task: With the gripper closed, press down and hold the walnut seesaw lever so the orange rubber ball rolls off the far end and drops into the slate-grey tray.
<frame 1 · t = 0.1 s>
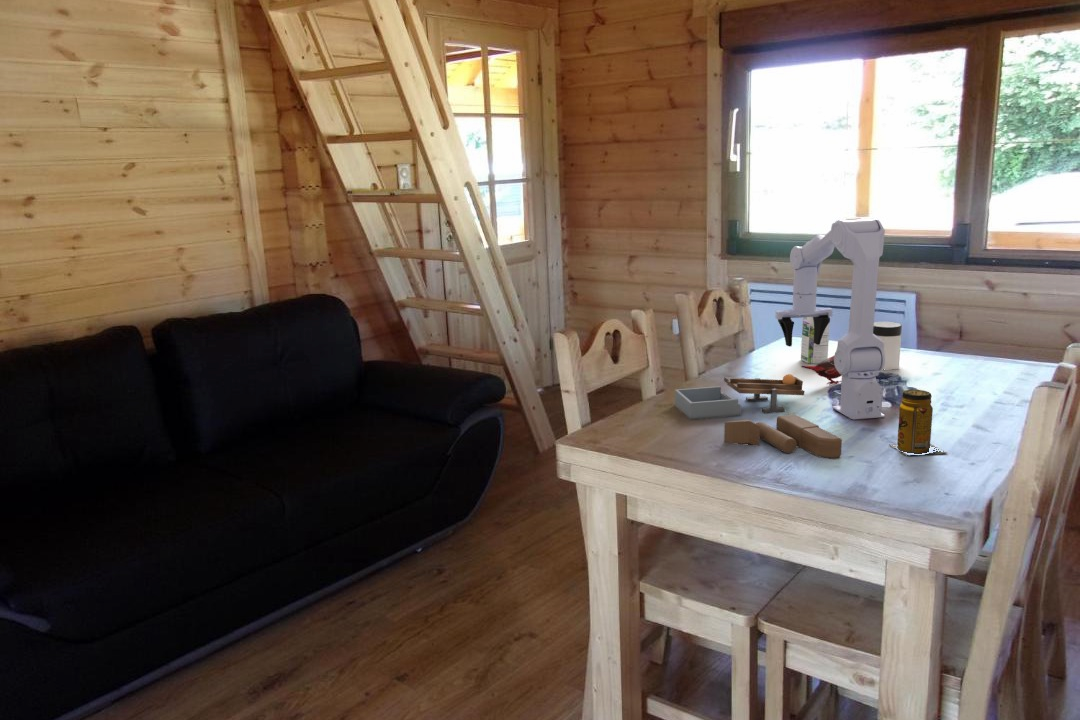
hand: (802, 344, 218), 10 cm above the table, tool pointing down, fingers open, 7 cm apart
lever stand: (764, 405, 200), on the table
lever: (762, 381, 201), point 5 cm above the table, hinge at -6.0°, touching ball
tray: (706, 410, 199), on the table
condiment: (917, 450, 168), on the table
ball: (788, 380, 200), point 6 cm above the table, tilted 19°, touching lever
jar: (883, 367, 233), on the table
syrup box: (814, 362, 241), on the table
red pointed-tail figurine: (827, 385, 216), on the table
wooden block set: (780, 451, 171), on the table
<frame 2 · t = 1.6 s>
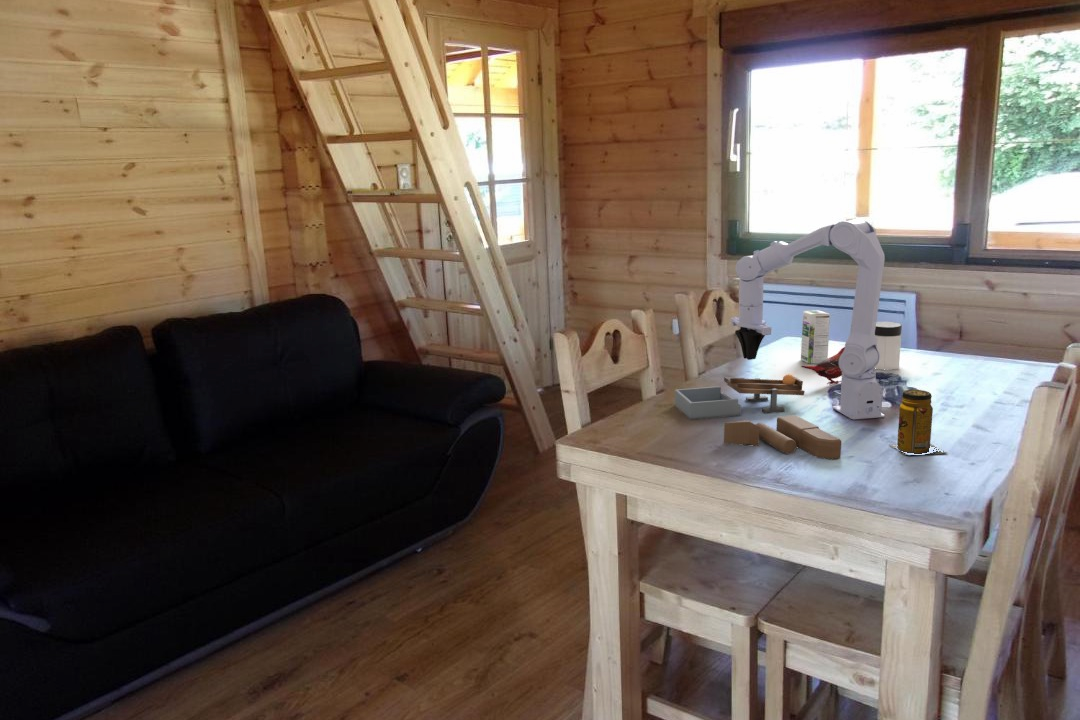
hand: (749, 358, 208), 9 cm above the table, tool pointing down, fingers closed
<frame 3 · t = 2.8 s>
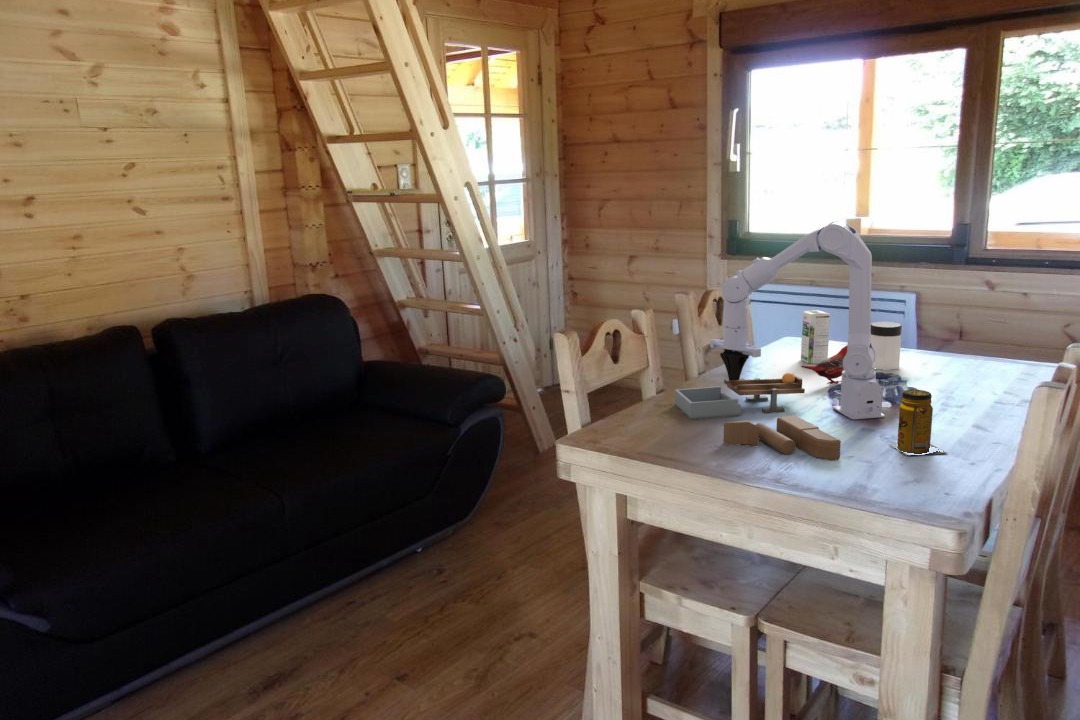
hand: (733, 380, 204), 5 cm above the table, tool pointing down, fingers closed, pressing on lever
lever: (762, 381, 201), point 5 cm above the table, hinge at -2.3°, touching ball, gripper
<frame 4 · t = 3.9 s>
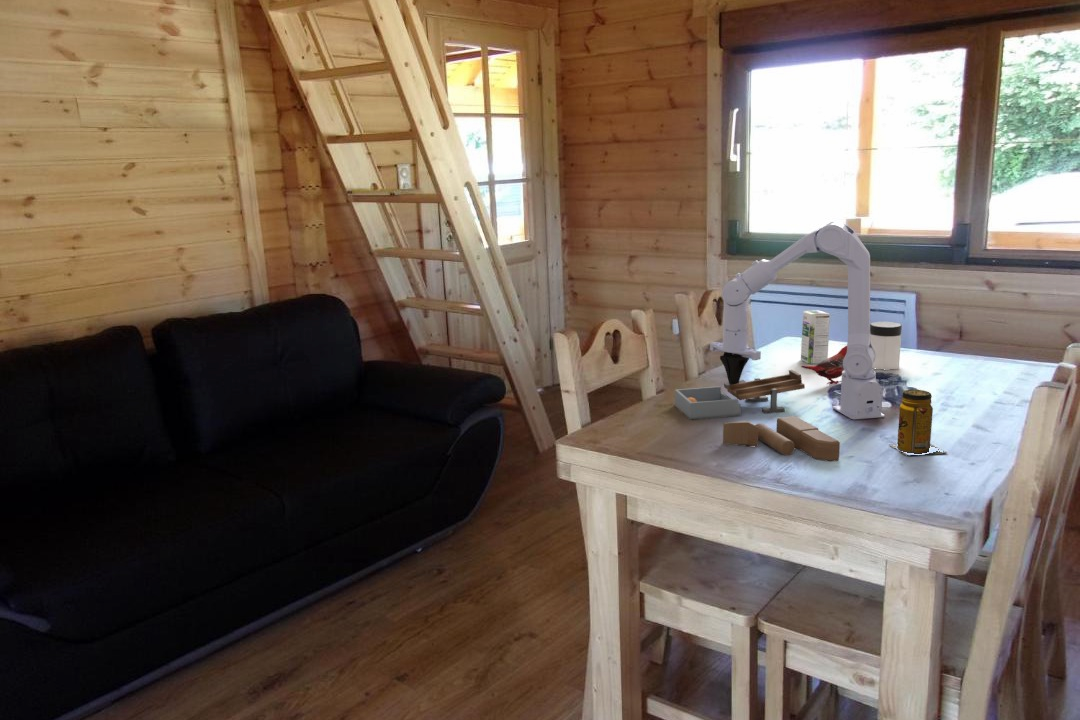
hand: (733, 383, 204), 4 cm above the table, tool pointing down, fingers closed, pressing on lever
lever: (762, 382, 201), point 5 cm above the table, hinge at 6.0°, touching gripper
ball: (690, 403, 198), point 2 cm above the table, tilted 160°, touching tray
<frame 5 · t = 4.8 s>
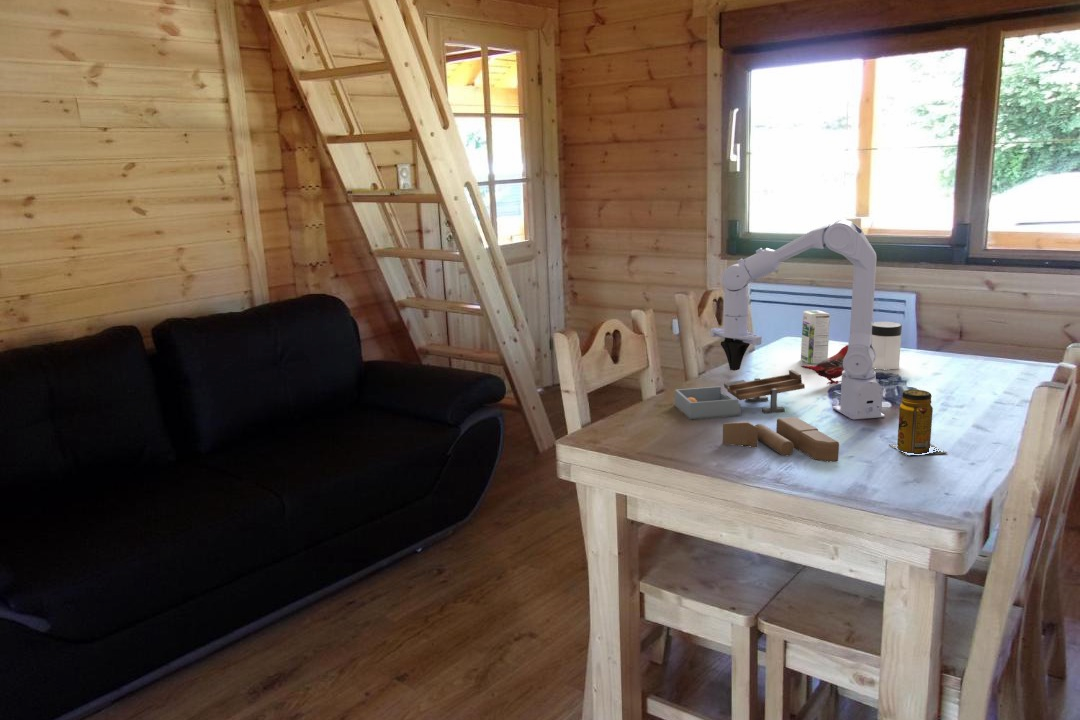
hand: (734, 369, 203), 8 cm above the table, tool pointing down, fingers closed
lever: (762, 382, 201), point 5 cm above the table, hinge at 6.0°
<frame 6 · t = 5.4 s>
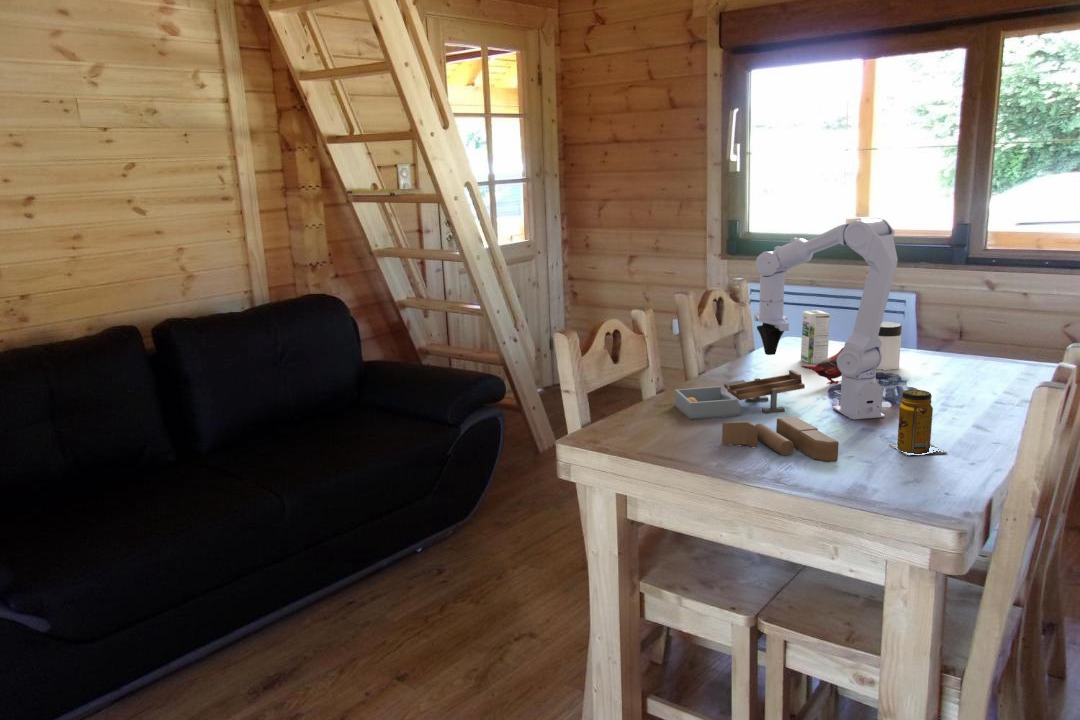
hand: (770, 354, 208), 10 cm above the table, tool pointing down, fingers closed
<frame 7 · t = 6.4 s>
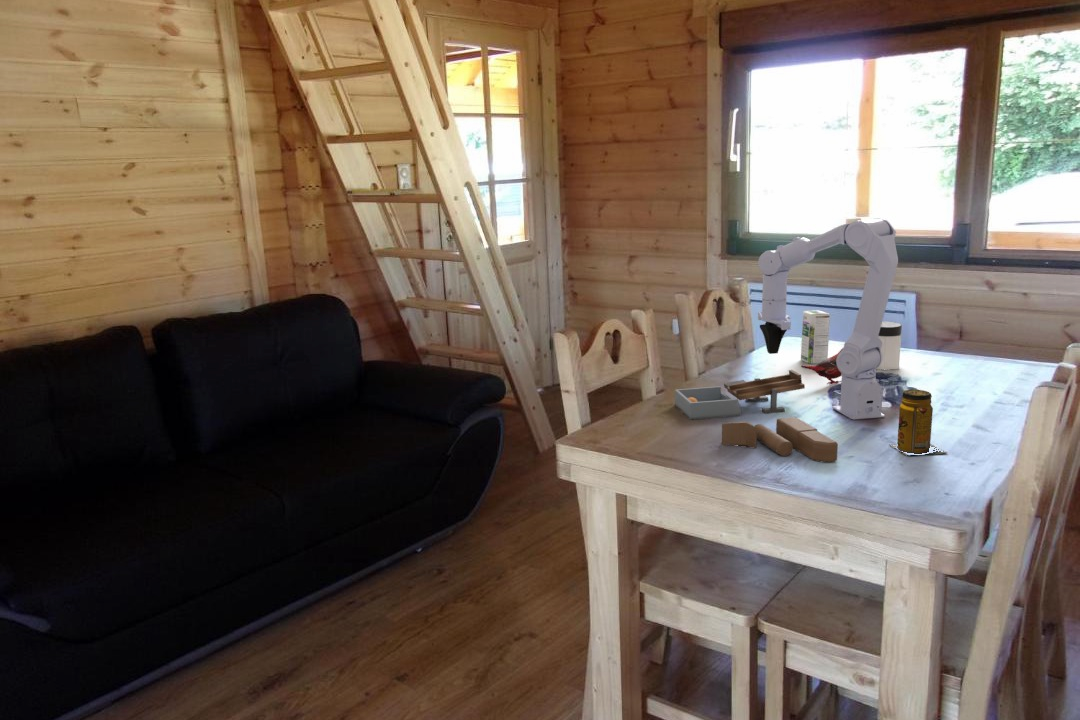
hand: (772, 353, 209), 10 cm above the table, tool pointing down, fingers closed
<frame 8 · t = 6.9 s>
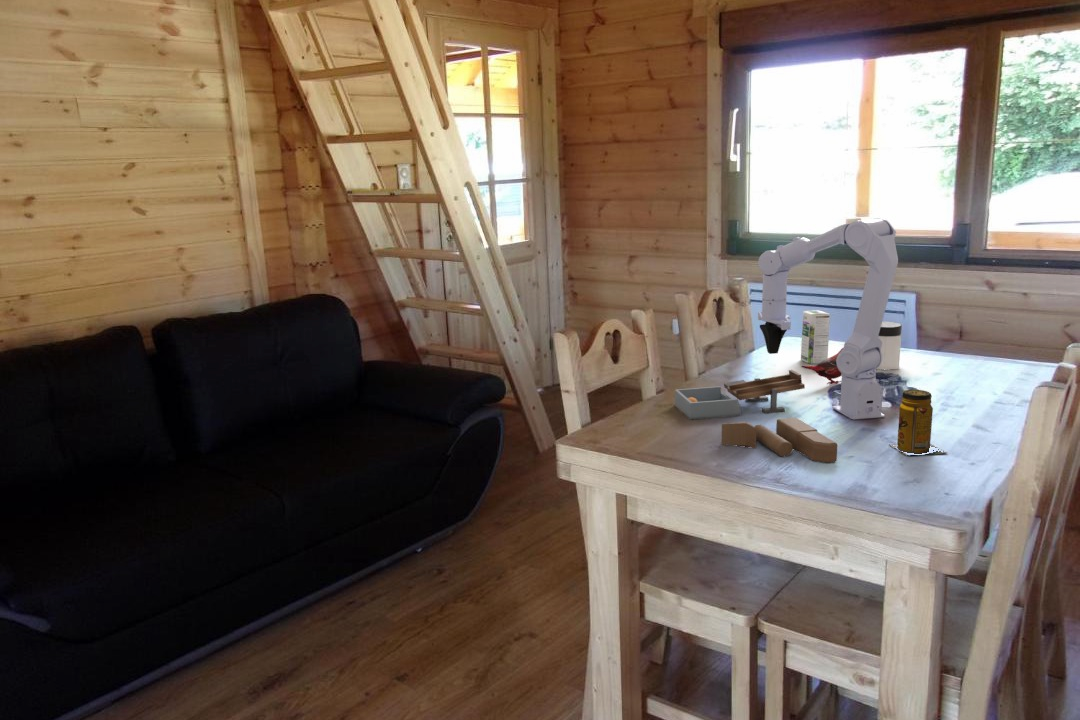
hand: (772, 353, 209), 10 cm above the table, tool pointing down, fingers closed
at the end: ball inside the target area on the tray (3.8 cm from its centre), point 2.0 cm above the tray's base; lever at +6° (first picture: -6°) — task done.
